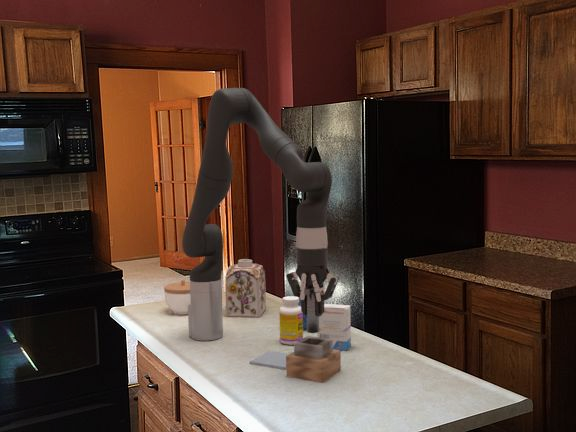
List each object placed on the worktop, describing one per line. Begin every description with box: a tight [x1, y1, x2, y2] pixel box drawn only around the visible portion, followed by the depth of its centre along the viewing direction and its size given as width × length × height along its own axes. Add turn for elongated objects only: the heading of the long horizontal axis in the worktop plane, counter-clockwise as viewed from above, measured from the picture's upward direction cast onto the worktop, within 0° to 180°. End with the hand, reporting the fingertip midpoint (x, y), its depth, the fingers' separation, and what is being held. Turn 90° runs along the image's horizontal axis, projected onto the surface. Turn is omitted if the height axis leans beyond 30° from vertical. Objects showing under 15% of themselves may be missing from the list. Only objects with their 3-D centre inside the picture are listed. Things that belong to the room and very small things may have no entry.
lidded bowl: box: [163, 279, 191, 316], centre depth 224 cm, size 13×13×11 cm
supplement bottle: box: [278, 295, 304, 346], centre depth 188 cm, size 7×7×13 cm
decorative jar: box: [224, 258, 267, 318], centre depth 221 cm, size 12×12×18 cm
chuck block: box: [285, 335, 342, 383], centre depth 163 cm, size 10×10×8 cm
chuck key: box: [304, 286, 319, 334], centre depth 161 cm, size 3×6×11 cm, turn 151°
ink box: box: [317, 303, 352, 352], centre depth 183 cm, size 9×5×12 cm, turn 71°
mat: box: [249, 350, 290, 371], centre depth 172 cm, size 12×10×1 cm
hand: (312, 314), depth 161 cm, fingers closed on chuck key, 3 cm apart
